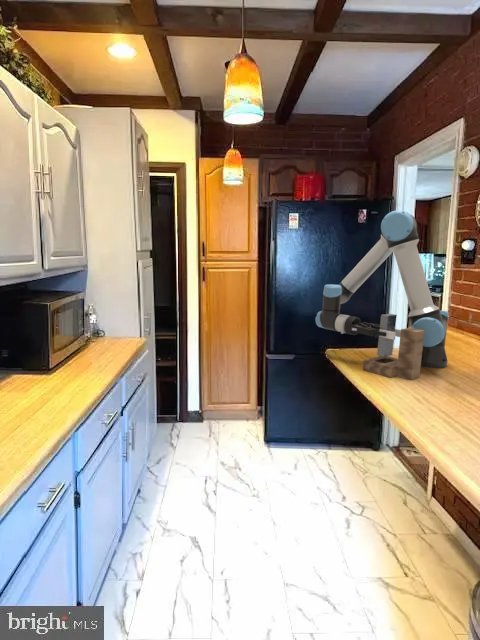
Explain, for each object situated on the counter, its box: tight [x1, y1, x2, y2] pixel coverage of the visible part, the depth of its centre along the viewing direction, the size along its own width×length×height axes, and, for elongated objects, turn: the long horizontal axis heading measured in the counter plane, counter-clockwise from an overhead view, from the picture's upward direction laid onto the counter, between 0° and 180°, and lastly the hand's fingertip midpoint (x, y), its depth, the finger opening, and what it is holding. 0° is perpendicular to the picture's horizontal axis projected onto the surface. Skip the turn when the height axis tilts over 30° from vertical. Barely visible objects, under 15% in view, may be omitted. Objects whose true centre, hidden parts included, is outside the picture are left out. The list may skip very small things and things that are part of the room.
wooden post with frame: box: [362, 327, 425, 381], centre depth 168 cm, size 18×14×18 cm
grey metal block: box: [376, 313, 397, 357], centre depth 170 cm, size 4×6×16 cm, turn 131°
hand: (399, 335), depth 166 cm, fingers closed on grey metal block, 6 cm apart
